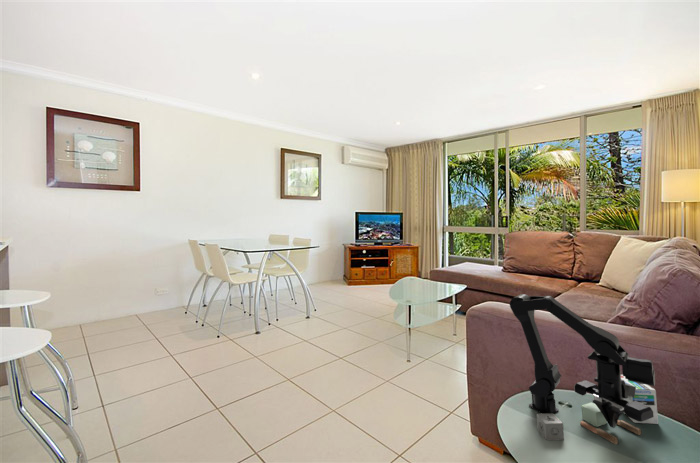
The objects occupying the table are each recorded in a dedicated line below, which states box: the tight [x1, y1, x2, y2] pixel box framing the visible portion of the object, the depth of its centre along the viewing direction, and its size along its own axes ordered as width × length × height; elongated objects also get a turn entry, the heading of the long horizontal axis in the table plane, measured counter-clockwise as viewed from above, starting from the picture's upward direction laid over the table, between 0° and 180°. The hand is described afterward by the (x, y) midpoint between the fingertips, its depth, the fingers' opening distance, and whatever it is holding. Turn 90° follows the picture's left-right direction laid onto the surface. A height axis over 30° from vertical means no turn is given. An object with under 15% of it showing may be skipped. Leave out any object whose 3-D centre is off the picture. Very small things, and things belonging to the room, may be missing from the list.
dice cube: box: [536, 413, 565, 441], centre depth 97 cm, size 5×5×5 cm
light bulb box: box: [621, 374, 659, 425], centre depth 104 cm, size 11×7×11 cm, turn 168°
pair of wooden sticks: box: [579, 419, 642, 445], centre depth 97 cm, size 10×11×2 cm
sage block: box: [581, 401, 608, 428], centre depth 101 cm, size 4×4×4 cm
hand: (612, 427), depth 96 cm, fingers closed
